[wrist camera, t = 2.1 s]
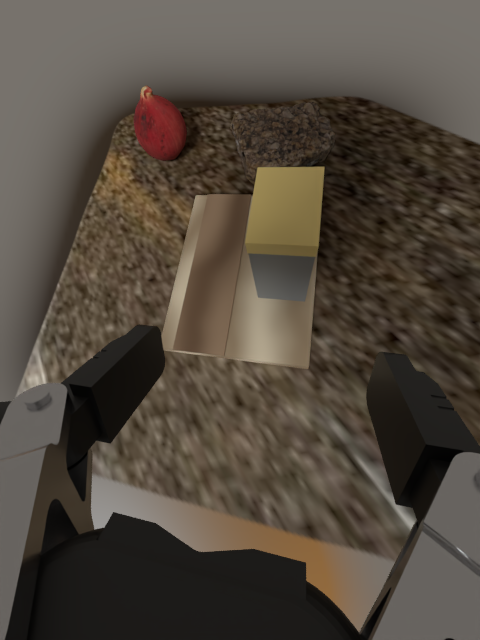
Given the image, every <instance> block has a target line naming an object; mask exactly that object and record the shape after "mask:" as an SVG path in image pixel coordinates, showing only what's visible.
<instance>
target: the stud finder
mask: <svg viewBox="0 0 480 640" xmlns="http://www.w3.org/2000/svg"><path fill="white" fill-rule="evenodd" d="M324 168H325V167H258V168H257V174H256V180H255V186H254V192H253V198H252V204H251V210H250V216H249V222H248V228H247V234H246V240H245V245H246V250H247V253H248V254H249V259H250V263H251V268H252V273H253V277H254V282H255V286H256V291H257V295H258V298H268V299H280V300H291V301H303V302H305V299H306V295H307V290H308V286H309V282H310V277H311V273H312V269H313V264H314V260H315V257H316V255H317V251H318V247H319V235H320V221H321V208H322V194H323V181H324Z"/></svg>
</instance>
